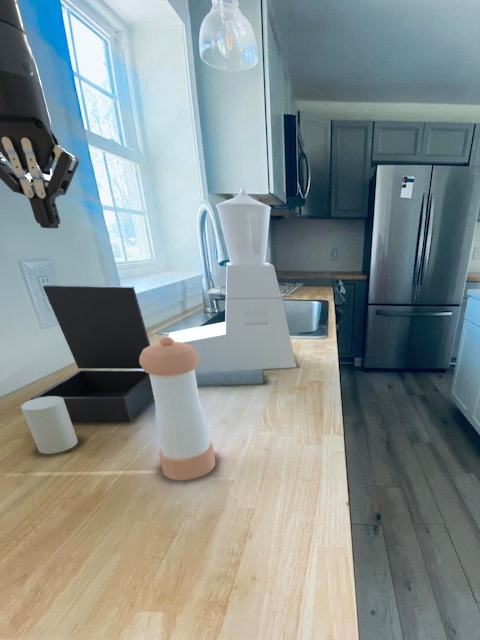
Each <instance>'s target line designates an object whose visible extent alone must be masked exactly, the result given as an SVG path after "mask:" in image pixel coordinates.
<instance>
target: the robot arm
mask: <svg viewBox="0 0 480 640" xmlns="http://www.w3.org/2000/svg"><path fill="white" fill-rule="evenodd" d="M7 161H8V163H10V165H11V166H12V168H11V167H10V166H9V165H8V164H7ZM54 163H56V164H55V167H54V169H52V168H53V165H54ZM79 163H80V160H79V158H78V157H77V156H76V155H74V154H71V153H69V152H68V151H66V150H65V149H64V148H62V146H60V143H59V139H58V138H57V137H56V135H55V133H54V132H53V129H52V121H51V117H50V113H49V109H48V105H47V101H46V97H45V94H44V89H43V85H42V81H41V78H40V75H39V70H38V67H37V63H36V59H35V57H34V54H33V51H32V49H31V46H30V44H29V40H28V37H27V33H26V30H25V26H24V22H23V18H22V14H21V11H20V6H19V3H18V0H0V180H1V181H2V182H3V183H4V184H5V186H7V187H8V188H9V189H10V190H11V191H12V192H13V193H15V194H21V195H23V196H25V197H26V198H27V199H28V201H29V203H30V207H31V209H32V213H33V217H34V220H35V221H36V224H39V226H40V228H42V229H59V228H60V227H59V225H60V224H61V217H60V215H59V212H58V208H57V204H56V199H57V198H58V197H60V196H65V195H67V192H68V190H69V187H70V185H71V183H72V180H73V178H74V176H75V173H76V171H77V168H78V167H79Z"/></svg>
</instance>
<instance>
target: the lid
mask: <svg viewBox="0 0 480 640" xmlns="http://www.w3.org/2000/svg"><path fill="white" fill-rule="evenodd" d="M42 289H43V291H44V292H45V296H47V300H48V302H49V304H50V307H51V310H52V312H53V313H54V316H55V318H56V320H57V323H58V325H59V327H60V330H61V332H62V334H63V337H64V339H65V341H66V343H67V346H68V348H69V350H70V353H71V355H72V357H73V360H74V362H75V364H76V366H77V369H79V370H144V369H143V368H142V367H141V365H140V363H139V358H140V355H141V353H142V351H143V349H145V348H147V347H148V346H150V345H151V342H150V339H149V335H148V332H147V329H146V326H145V322H144V317H143V315H142V311H141V308H140V305H139V301H138V297H137V294H136V290H135V286H130V285H126V286H125V285H123V286H122V285H65V284H64V285H63V284H62V285H61V284H60V285H58V284H57V285H55V284H49V285H48V284H45V285H43V286H42Z"/></svg>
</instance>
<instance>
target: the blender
mask: <svg viewBox="0 0 480 640" xmlns="http://www.w3.org/2000/svg"><path fill="white" fill-rule="evenodd" d="M215 208H216V210H217V214H218V218H219V222H220V226H221V231H222V235H223V239H224V243H225V248H226V252H227V256H228V260H229V262H228V261H227V262H226V264H225V265H226V266H225V267H226V269H225V270H226V271H225V273H226V274H225V306H224V307H225V312H224V313H225V314H224V315H225V318H224V321H222V322H216V323H211V324H206V325H201V326H196V327H195V326H194V327H191V328H184V329H180V330H175V331H170V332H169V334H168V336H167V337H171V338H172V339H173V340H174V341H178V342H183V343H186V344H189V345H191V346H192V347H193V348H194V349H195V350H196V351H197V353H198V355H199V363H198V366H197V367H196V368H195V369H194V370H195V372H212V371H238V370H270V369H273V370H274V369H287V368H288V369H290V368H297V362H296V358H295V353H294V348H293V343H292V338H291V333H290V329H289V326H288V325H289V324H288V321H287V315H286V311H285V307H284V303H283V298H282V294H281V290H280V287H279V282H278V277H277V273H276V269H275V265H273V264H272V263H270V262H267V261H266V260H267V259H266V258H267V252H268V251H267V250H268V239H269V229H270V228H269V227H270V218H271V210H272V207H271V206H270V205H268V204H265V203H263V202H261V201H259V200H256V199H254V198H252V197H251V196H250V195H248V193H247V192H246V190H245V188H240V190H239V192H238V194H237V195H236V196H235V197H232V198H230V199H227V200H224V201H222V202H219V203H217V204H215Z"/></svg>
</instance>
